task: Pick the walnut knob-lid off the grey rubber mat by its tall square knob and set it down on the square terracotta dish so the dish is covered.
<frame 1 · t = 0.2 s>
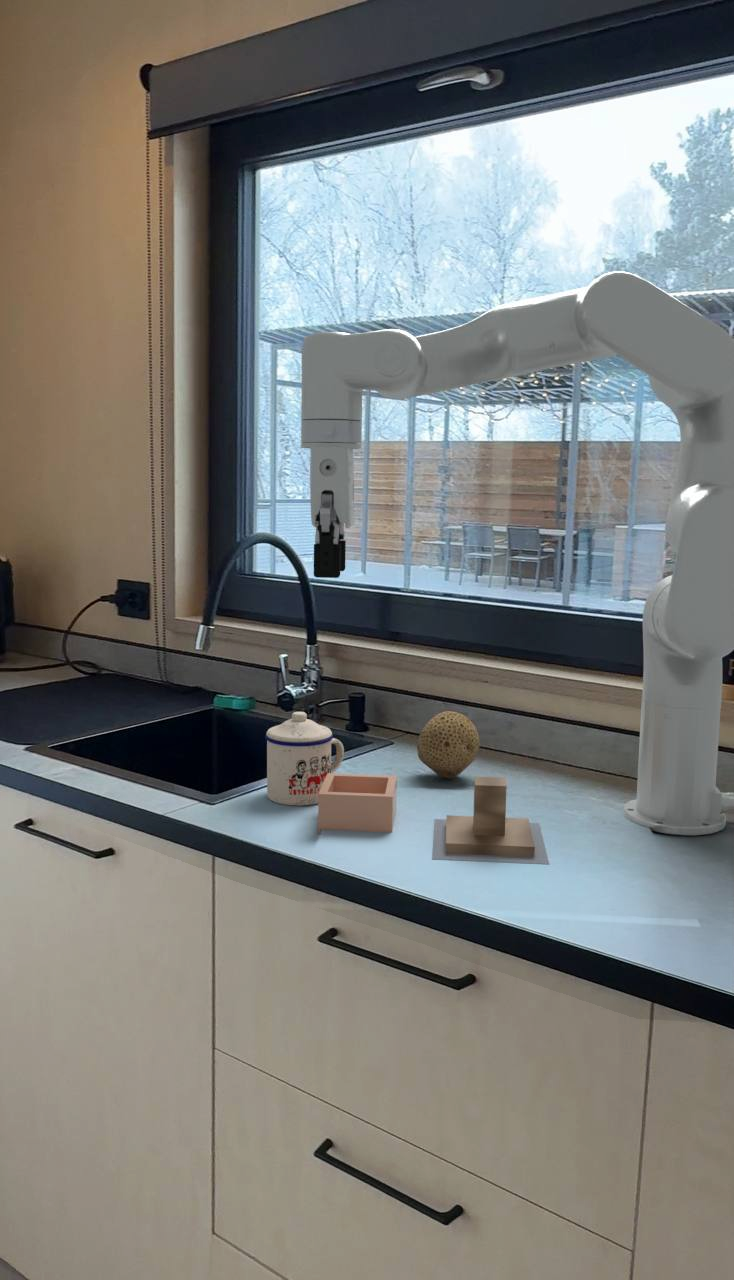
hand: (330, 573, 129), 31 cm above the worktop, fingers open, 9 cm apart
dish: (358, 823, 128), on the worktop
mat: (488, 845, 121), on the worktop
natural sponge: (447, 780, 148), on the worktop
teacup with lid: (307, 796, 140), on the worktop
lid: (488, 840, 121), point 1 cm above the worktop, touching mat
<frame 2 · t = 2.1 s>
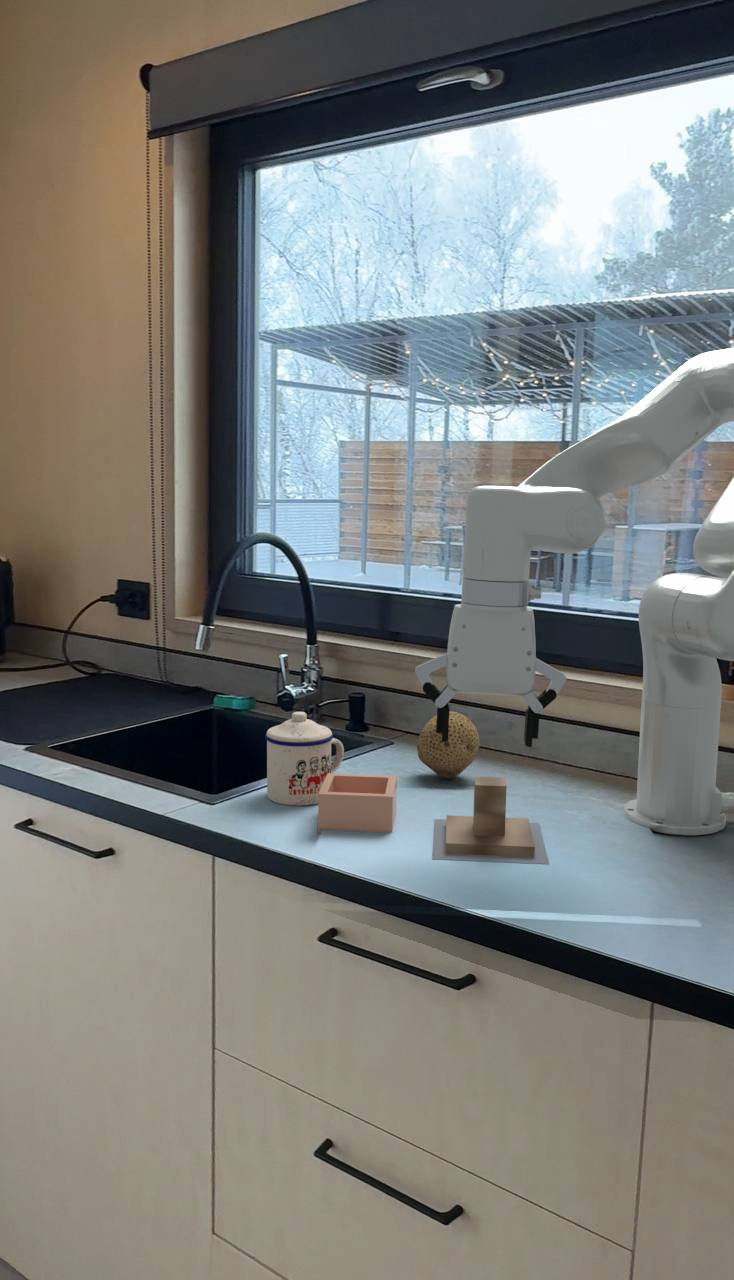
hand: (486, 741, 119), 13 cm above the worktop, fingers open, 9 cm apart
nothing on the worktop moved.
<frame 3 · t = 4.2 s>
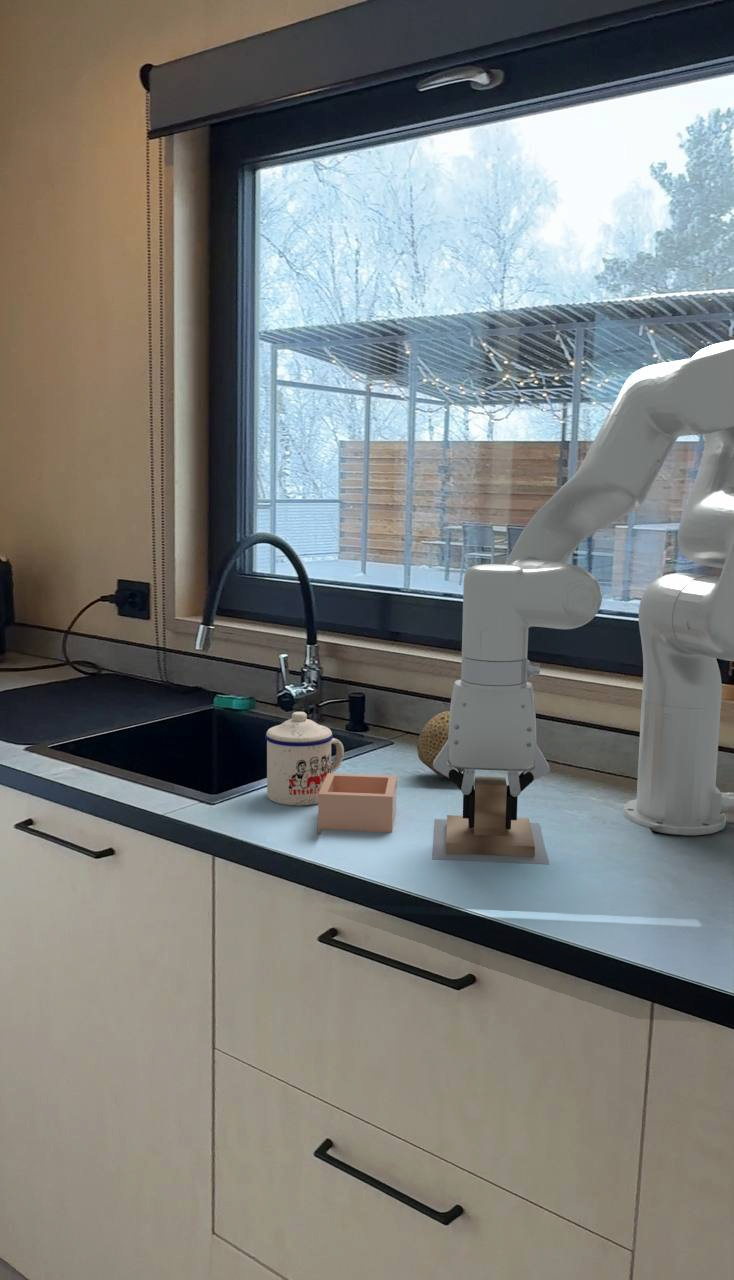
hand: (489, 823, 121), 3 cm above the worktop, fingers closed on lid, 3 cm apart
lid: (488, 839, 121), point 1 cm above the worktop, touching gripper, mat
everything else where it was.
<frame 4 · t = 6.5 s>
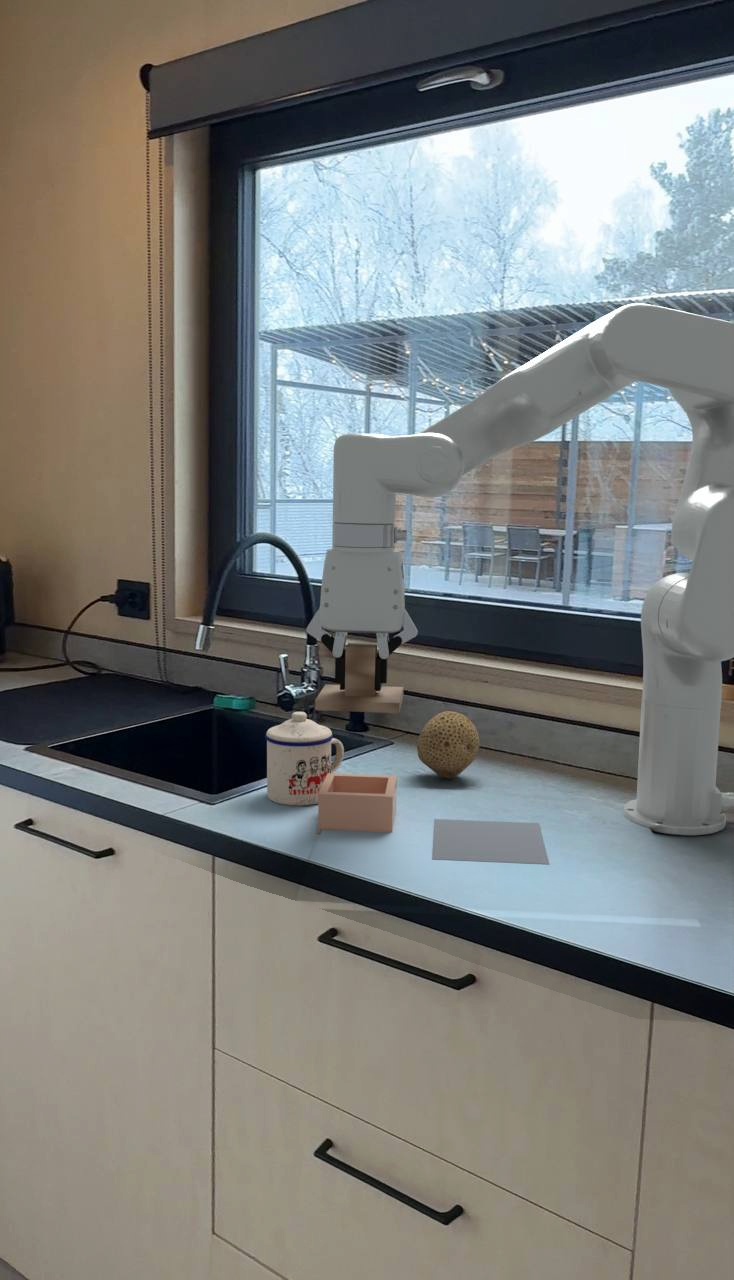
hand: (361, 687, 125), 17 cm above the worktop, fingers closed on lid, 3 cm apart
lid: (360, 702, 126), point 15 cm above the worktop, touching gripper
everything else where it was.
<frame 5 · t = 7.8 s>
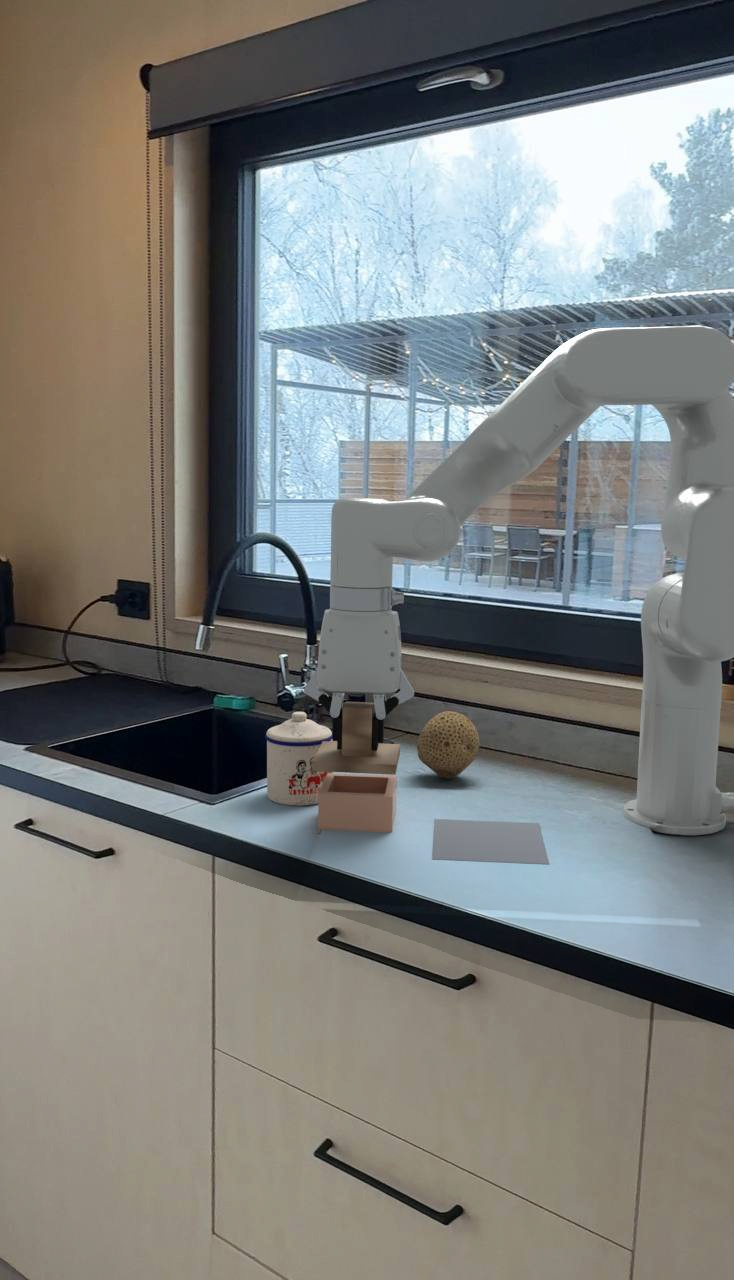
hand: (358, 746, 127), 10 cm above the worktop, fingers closed on lid, 3 cm apart
lid: (357, 761, 127), point 8 cm above the worktop, touching gripper
everything else where it was.
when the fingers open (8 cm above the worktop, at t = 8.8 s): lid drops 1 cm, resting on dish.
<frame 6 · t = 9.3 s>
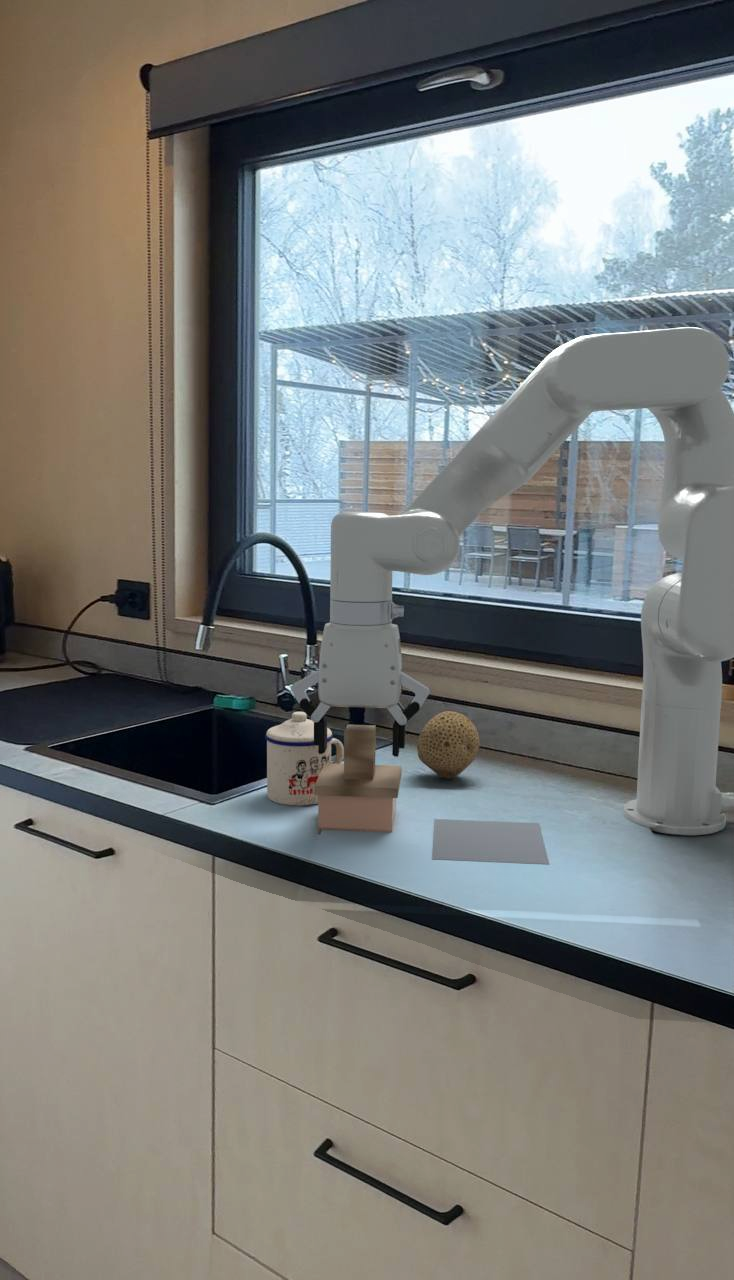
hand: (359, 752, 127), 9 cm above the worktop, fingers open, 8 cm apart
lid: (359, 784, 127), point 5 cm above the worktop, touching dish
everything else where it was.
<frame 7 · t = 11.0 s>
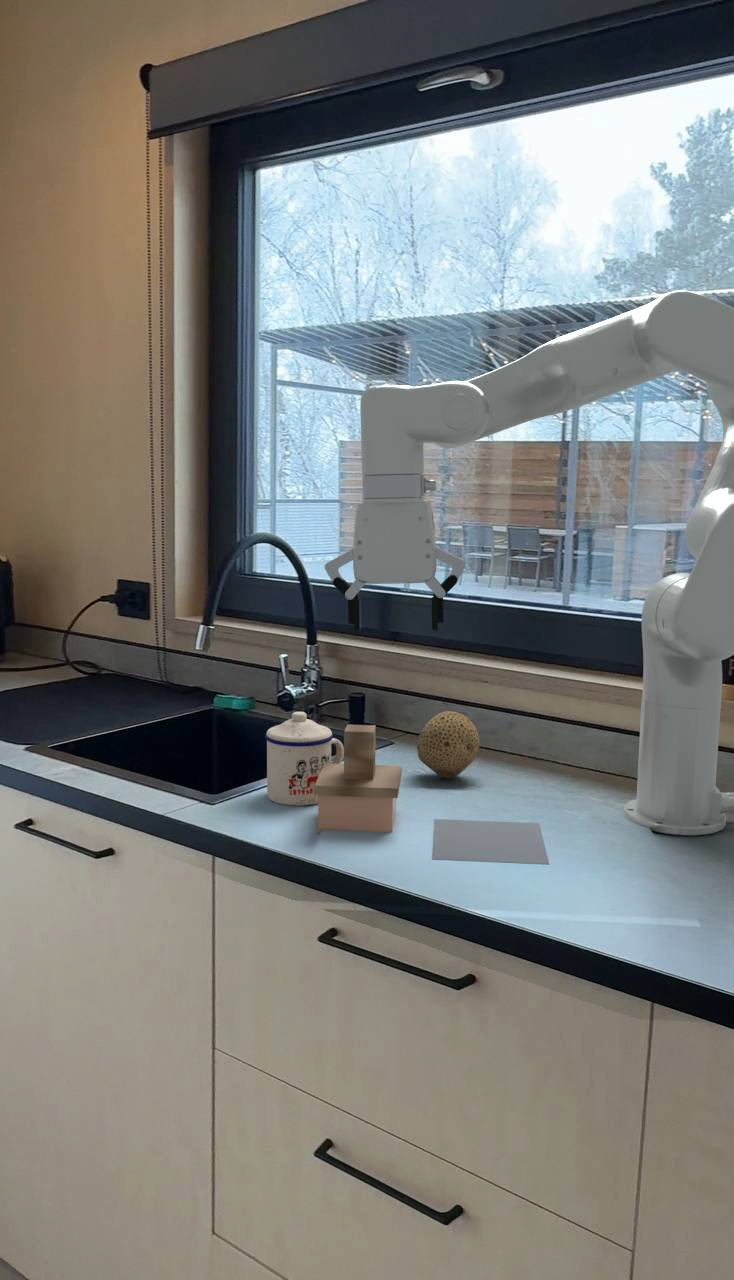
hand: (396, 629, 127), 24 cm above the worktop, fingers open, 9 cm apart
nothing on the worktop moved.
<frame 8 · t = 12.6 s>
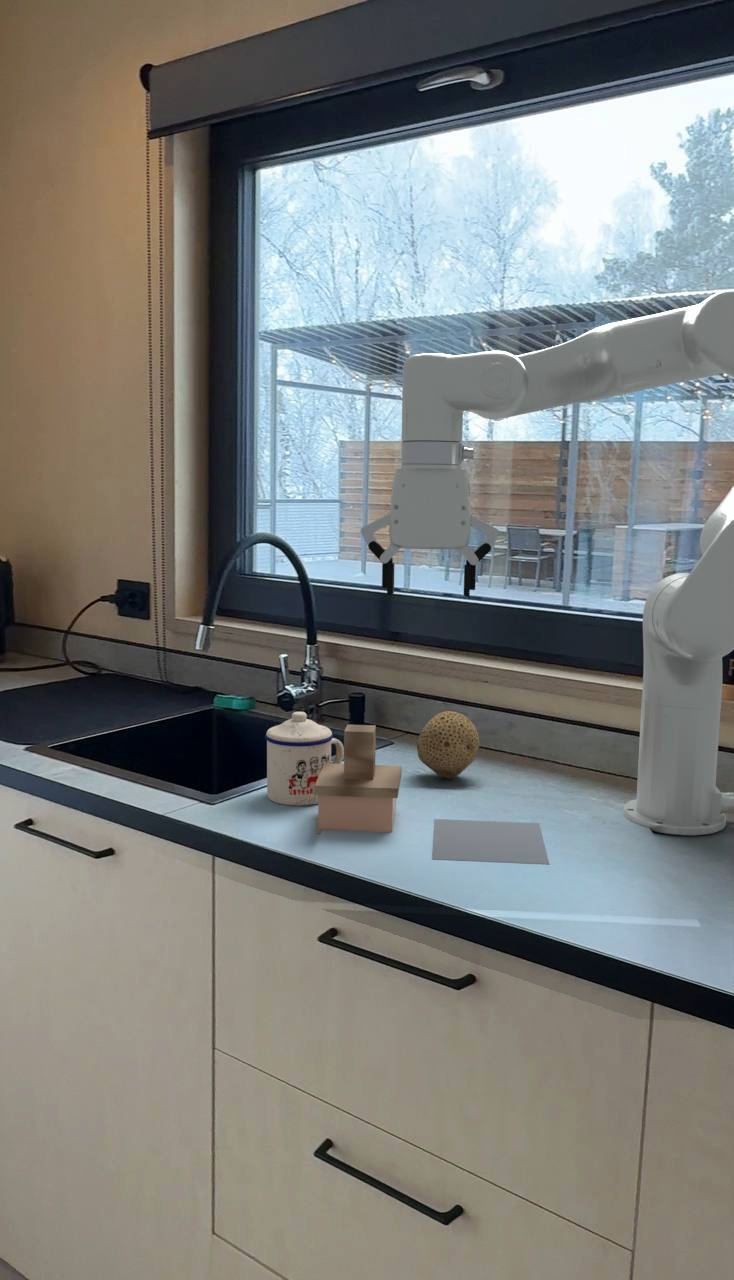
hand: (428, 595, 129), 28 cm above the worktop, fingers open, 9 cm apart
nothing on the worktop moved.
at the end: lid 0.1 cm off-centre on the dish, point 5.0 cm above the dish's base; lid tilted 0°; the gripper is holding nothing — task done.
